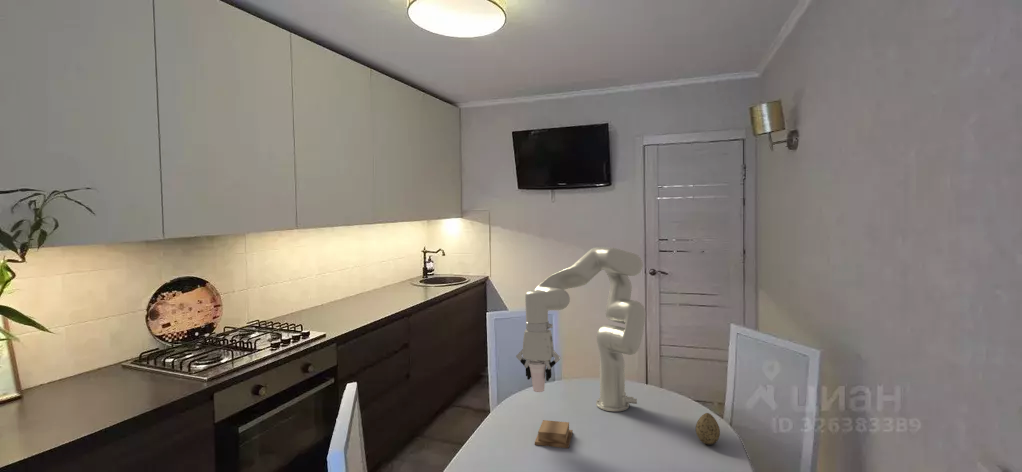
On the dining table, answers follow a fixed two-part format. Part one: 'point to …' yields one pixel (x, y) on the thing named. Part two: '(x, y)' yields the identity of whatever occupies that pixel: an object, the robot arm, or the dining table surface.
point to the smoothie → (538, 375)
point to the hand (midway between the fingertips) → (538, 378)
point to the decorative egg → (707, 429)
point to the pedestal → (554, 434)
